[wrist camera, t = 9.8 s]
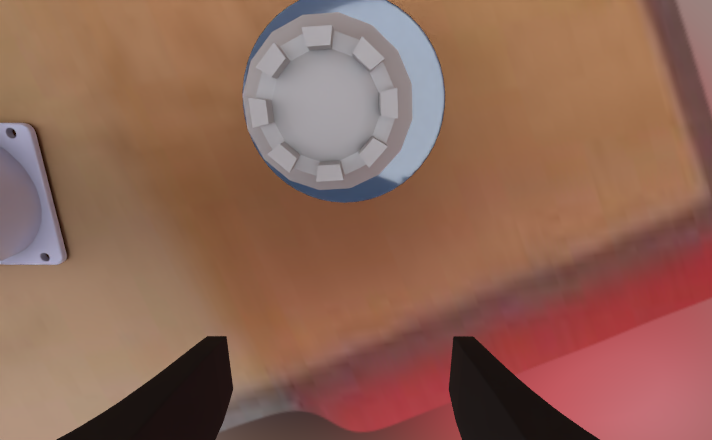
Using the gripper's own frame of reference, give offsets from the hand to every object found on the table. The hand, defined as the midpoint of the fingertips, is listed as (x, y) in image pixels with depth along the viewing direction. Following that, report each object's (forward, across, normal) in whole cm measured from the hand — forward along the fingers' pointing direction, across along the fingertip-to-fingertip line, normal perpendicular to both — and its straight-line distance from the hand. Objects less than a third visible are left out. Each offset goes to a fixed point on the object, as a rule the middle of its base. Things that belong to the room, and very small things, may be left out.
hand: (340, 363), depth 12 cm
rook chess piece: (+5, 0, -8) cm, 9 cm away
